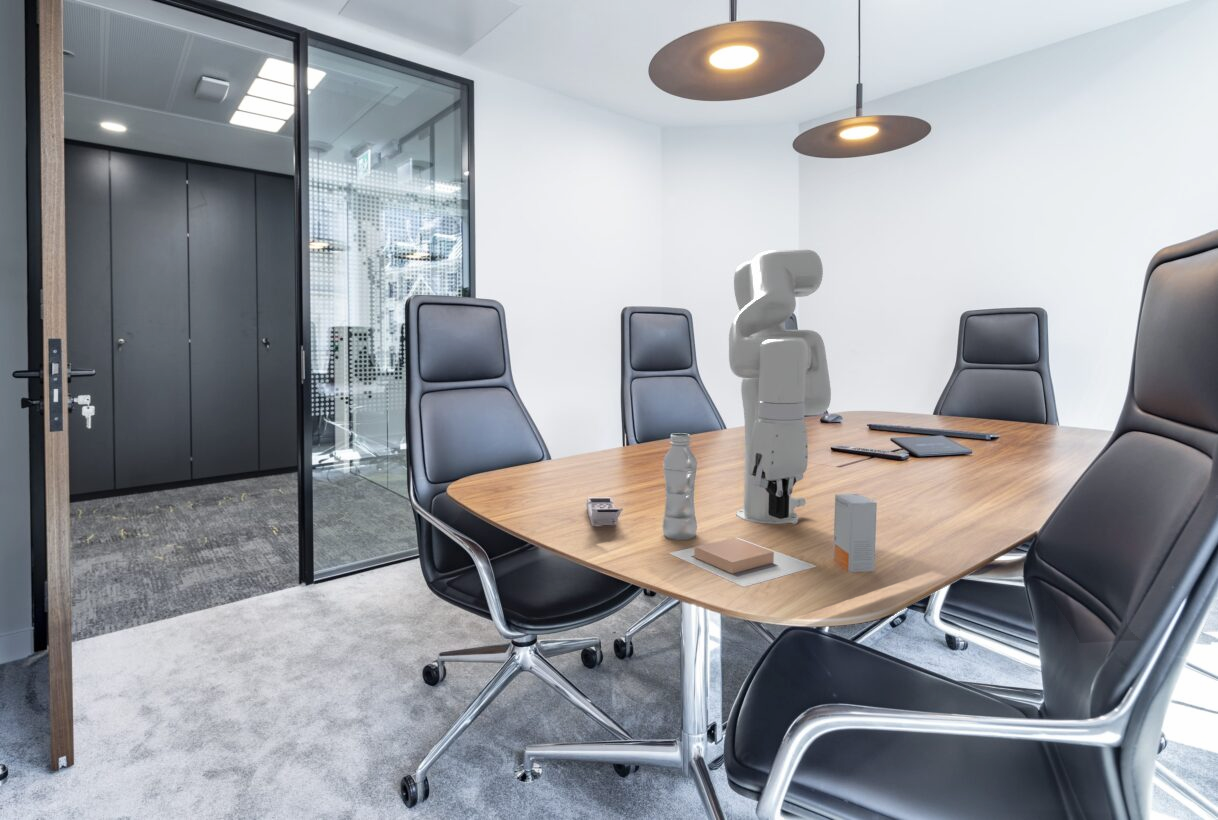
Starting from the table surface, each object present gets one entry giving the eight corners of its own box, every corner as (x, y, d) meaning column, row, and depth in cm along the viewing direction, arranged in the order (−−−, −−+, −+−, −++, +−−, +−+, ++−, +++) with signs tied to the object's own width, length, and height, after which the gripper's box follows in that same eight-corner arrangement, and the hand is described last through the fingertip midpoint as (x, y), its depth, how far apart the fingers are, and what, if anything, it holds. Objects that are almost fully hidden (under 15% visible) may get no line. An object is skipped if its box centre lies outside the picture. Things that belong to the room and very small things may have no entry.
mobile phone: (592, 509, 116) (585, 480, 141) (592, 539, 117) (584, 505, 142) (624, 508, 117) (611, 480, 142) (623, 538, 118) (610, 505, 142)
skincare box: (831, 564, 102) (834, 493, 101) (856, 564, 102) (859, 493, 101) (849, 578, 96) (851, 502, 95) (875, 577, 96) (878, 502, 95)
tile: (734, 537, 107) (694, 546, 102) (773, 551, 99) (732, 562, 94) (734, 548, 107) (694, 558, 102) (773, 563, 99) (732, 574, 95)
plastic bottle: (700, 536, 117) (701, 432, 115) (693, 547, 111) (693, 437, 109) (667, 533, 119) (667, 431, 118) (658, 544, 113) (658, 436, 111)
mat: (737, 542, 114) (737, 537, 113) (816, 572, 98) (817, 565, 98) (668, 558, 105) (668, 552, 105) (743, 593, 90) (743, 586, 90)
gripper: (794, 406, 111) (791, 504, 114) (733, 413, 104) (731, 518, 106) (828, 410, 105) (824, 514, 108) (766, 418, 97) (763, 530, 100)
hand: (778, 516), depth 107 cm, fingers closed
